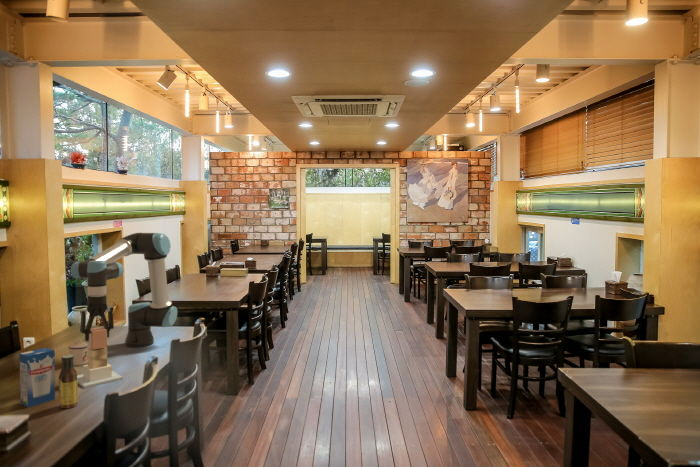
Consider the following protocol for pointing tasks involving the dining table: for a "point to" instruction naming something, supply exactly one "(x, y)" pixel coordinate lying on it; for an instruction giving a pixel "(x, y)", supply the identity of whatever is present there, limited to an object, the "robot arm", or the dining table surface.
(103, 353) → the maple block
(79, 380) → the base
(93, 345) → the terracotta block
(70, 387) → the sauce bottle
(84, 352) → the teacup with lid
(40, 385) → the milk carton
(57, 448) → the dining table surface
